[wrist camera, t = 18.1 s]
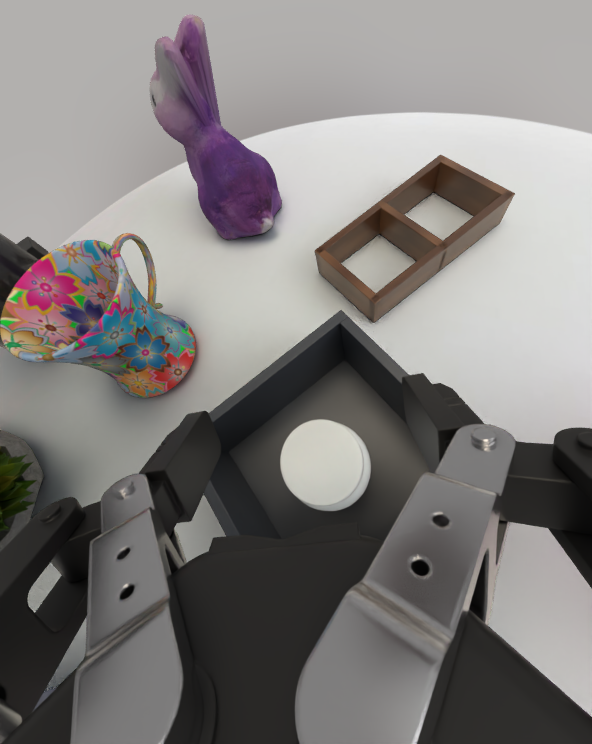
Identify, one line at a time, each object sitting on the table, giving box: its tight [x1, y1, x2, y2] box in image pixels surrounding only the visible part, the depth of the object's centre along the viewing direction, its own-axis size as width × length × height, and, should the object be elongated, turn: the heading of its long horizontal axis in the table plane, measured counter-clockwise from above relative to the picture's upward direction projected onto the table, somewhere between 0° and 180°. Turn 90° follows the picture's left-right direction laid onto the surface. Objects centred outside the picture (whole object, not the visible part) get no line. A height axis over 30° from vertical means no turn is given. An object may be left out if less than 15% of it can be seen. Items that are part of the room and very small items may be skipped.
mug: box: [0, 233, 196, 398], centre depth 25 cm, size 12×9×11 cm
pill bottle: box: [280, 419, 371, 511], centre depth 18 cm, size 5×5×8 cm
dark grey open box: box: [204, 310, 431, 541], centre depth 19 cm, size 13×13×7 cm
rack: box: [315, 155, 515, 323], centre depth 26 cm, size 8×15×3 cm, turn 127°
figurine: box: [150, 15, 282, 240], centre depth 27 cm, size 9×10×15 cm
